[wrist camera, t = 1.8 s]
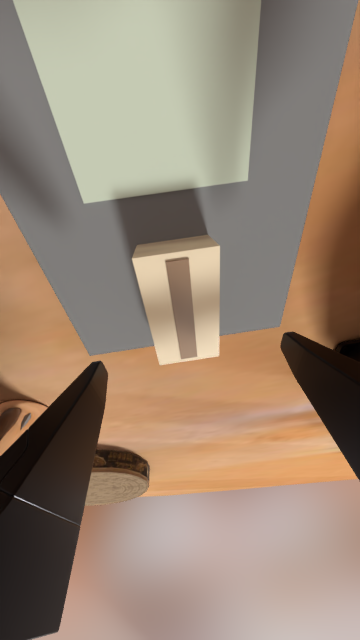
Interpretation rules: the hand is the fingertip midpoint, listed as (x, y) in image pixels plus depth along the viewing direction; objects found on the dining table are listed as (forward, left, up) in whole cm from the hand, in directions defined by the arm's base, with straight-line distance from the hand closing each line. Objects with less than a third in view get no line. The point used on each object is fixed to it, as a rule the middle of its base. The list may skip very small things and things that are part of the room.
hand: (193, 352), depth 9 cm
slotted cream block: (0, 0, -6) cm, 6 cm away
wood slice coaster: (-31, +17, -7) cm, 36 cm away
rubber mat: (+6, 0, -6) cm, 9 cm away
